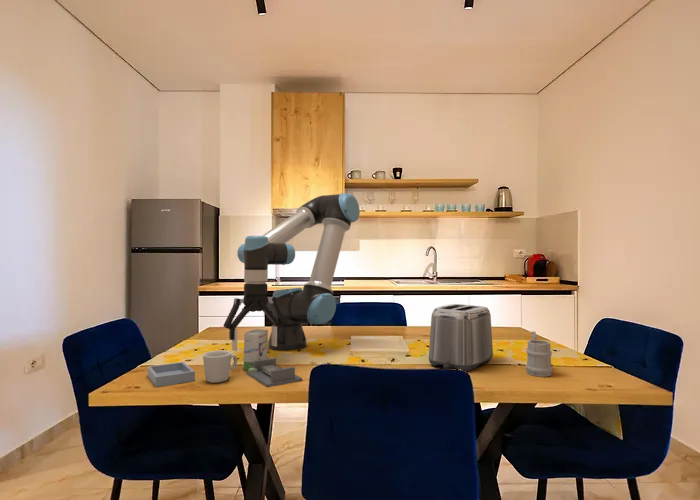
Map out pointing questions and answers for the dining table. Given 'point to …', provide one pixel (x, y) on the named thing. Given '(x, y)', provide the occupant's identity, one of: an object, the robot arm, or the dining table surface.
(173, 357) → the dining table surface
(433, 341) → the toaster
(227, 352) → the cup
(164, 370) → the trough
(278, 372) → the cradle
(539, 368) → the mug
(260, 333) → the ink box
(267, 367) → the checker pad
